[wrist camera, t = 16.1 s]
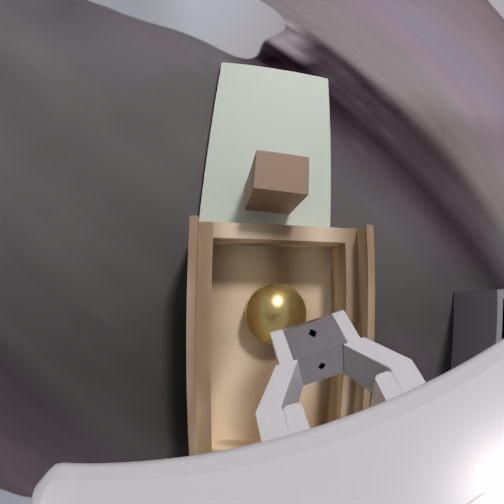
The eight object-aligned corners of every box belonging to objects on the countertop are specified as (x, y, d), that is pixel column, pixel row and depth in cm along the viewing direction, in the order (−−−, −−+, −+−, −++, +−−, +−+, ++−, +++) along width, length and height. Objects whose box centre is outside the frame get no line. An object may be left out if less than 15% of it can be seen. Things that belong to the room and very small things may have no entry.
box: (193, 446, 26) (190, 477, 20) (194, 231, 28) (190, 215, 23) (337, 438, 27) (361, 463, 22) (344, 237, 30) (373, 225, 24)
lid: (199, 224, 29) (195, 202, 22) (221, 68, 32) (225, 24, 24) (325, 237, 30) (357, 221, 23) (324, 84, 33) (346, 45, 26)
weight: (243, 342, 27) (245, 344, 25) (244, 283, 28) (246, 283, 26) (300, 341, 28) (305, 343, 26) (301, 284, 28) (306, 284, 27)
